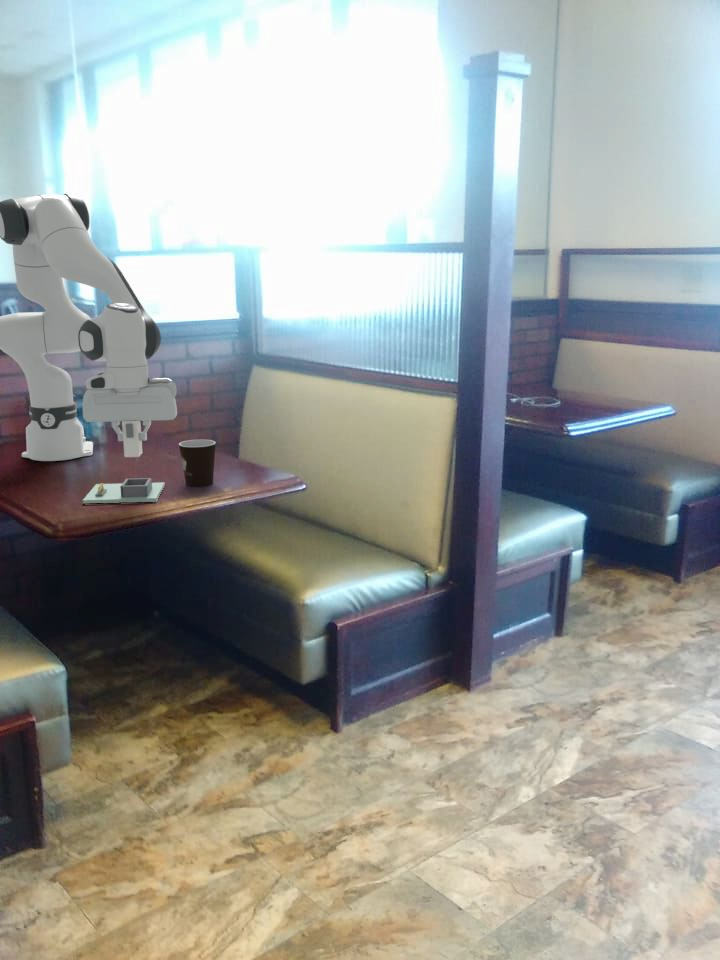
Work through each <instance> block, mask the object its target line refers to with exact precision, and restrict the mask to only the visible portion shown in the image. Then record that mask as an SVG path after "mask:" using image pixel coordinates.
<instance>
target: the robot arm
mask: <svg viewBox="0 0 720 960" xmlns="http://www.w3.org/2000/svg"><path fill="white" fill-rule="evenodd" d="M90 223H91V222H90V214H89V209H88V206H87V203H86V202H85V201H84V200H83V199H82V197H80V196H79V195H75V194H70V193H64V194H38V195H32V196H25V197H21V198H19V197H18V198H14V199H13V198H8V199H4V200H1V201H0V239H1V240H2V241H3V242H4V243H5V244H8V245H12V255H13V265H14V272H15V279H16V287H17V290H18V292H19V294H21V295H22V297H23V298H26V299H27V300H29V301H31V302H34V303H36V304H38V305H40V306H41V307H42V308H43V309H44V310H45V311H37V312H36V311H31V312H30V311H29V312H28V311H27V312H25V311H24V312H14V313H9V314H5V315H1V316H0V350H1V352H3V353H5V354H6V355H8V356H9V357H10V358H12V359H13V360H14V361H15V362H16V363H17V364H18V366H19V367H20V369H21V370H22V372H23V374H24V376H25V380H26V382H27V383H26V384H27V388H28V392H29V394H28V395H29V401H30V405H29V419H30V420H31V421H30V423H29V424H28V425H27V426H26V427H25V440H26V451H23V452H22V453H21V457H22V458H26V459H30V460H32V461H39V462H56V461H67V460H73V459H74V460H75V459H78V458H81V457H82V458H83V457H91V456H92V455H93V451H94V443H93V441H89V440H88V439H87V437H86V436H85V430H84V426H83V424H82V423H81V421H80V420H79V418H78V417H77V416H78V409H77V403H76V402H74V393H73V392H74V391H73V380H72V377H71V375H70V374H69V373H68V371H66V370H64V369H63V368H60V367H58V366H56V365H53V364H51V363H49V362H48V360H47V359H46V358H45V357H46V355H48V354H50V355H51V354H73V353H79V352H81V353H82V354H83V355H84V356H85V358H87V359H89V360H90V361H92V362H93V361H94V362H106V365H105V367H106V369H105V371H106V372H105V371H104V372H100V373H98V374H96V375H94V376H93V375H92V376H91V377H89V378H87V379H86V380H85V387H86V389H87V390H86V391H85V392H84V394H83V397H82V416H83V419H84V421H86V422H87V423H98V422H99V423H100V422H101V423H102V422H104V423H105V422H107V423H108V422H111V428H113V430H114V432H115V433H116V434H117V441H118V442H123V430H121V428H120V427H119V425H120V424H121V422H122V421H140V422H141V421H142V426H145V427H144V429H143V431H141V432H140V433H139V441H142V442H145V441H147V440H148V433H147V432H148V431H149V429H150V426H151V425H152V421H172V420H174V419H175V418H177V415H178V408H177V406H178V405H177V402H176V401H177V400H176V396H177V395H178V394H177V393H178V388H177V384H176V382H175V381H174V380H172V379H170V378H169V377H168V378H167V377H163V378H159V377H157V378H156V377H149V376H150V375H149V366H148V365H149V363H148V361H147V360H150V359H151V358H152V357H154V355H155V354H156V353H157V351H158V350H159V348H160V346H161V342H162V336H161V331H160V329H159V326H158V325H157V323H156V322H155V320H153V318H152V317H151V316H150V314H148V312H146V310H145V308H144V307H143V305H142V304H141V302H140V301H139V299H138V297H137V295H136V293H135V292H134V290H133V289H132V287H131V285H130V283H129V282H128V280H127V278H126V277H125V276H124V274H123V272H122V271H121V269H120V268H119V267H118V265H117V264H116V263H115V262H114V261H113V260H111V259H110V258H109V257H107V256H106V255H105V254H104V253H103V252H102V251H101V250H100V248H98V247H97V246H96V244H95V243H94V242H93V240H92V239H91V237H90V235H89V232H88V231H89V229H90ZM63 279H65V280H67V281H69V282H74V283H79V284H82V285H86V286H89V287H91V288H94V289H97V290H99V291H100V292H102V293H104V294H105V295H106V296H107V297H108V298H109V300H110V302H111V303H108V304H106V305H105V306H104V307H103V310H102V312H101V314H99V315H98V316H95V317H93V318H92V317H90V315H88V314H87V313H85V312H84V311H82V310H81V309H79V308H78V307H77V306H76V305H75V304H74V303H73V302H72V300H71V298H69V295H68V294H67V292H66V289H65V286H64V280H63Z"/></svg>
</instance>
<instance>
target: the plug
mask: <svg viewBox="0 0 720 960" xmlns="http://www.w3.org/2000/svg"><path fill="white" fill-rule="evenodd" d="M141 424H142V423H141V421H121V427H122V428H121V429H122V432H123V441H122V442H123V454H124V458H140V456H141V455H142V454H143V453H144V452H143V441H139V433H140V432H142V425H141Z"/></svg>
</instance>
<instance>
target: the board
mask: <svg viewBox="0 0 720 960" xmlns="http://www.w3.org/2000/svg"><path fill="white" fill-rule="evenodd" d="M152 480H153V479H152V477H148V478H147V477H146V478H145V477H144V478H143V477H140V478H125V479H124V481H123V482H121V483H102V482H101V483H96V484H95V485H94V486H93V487H92V489H91V490H90V491H89V492H88V493H87V494H86V496H85V497H84V498H83V499H82V504H83V503H112V502H113V503H119V502H153V503H154V502H156V503H157V502H158V500H159V499H158V498H160V497H159V496H161V495H160V494H162V493H163V491H164V489H165V487H166V482H163V481H162V482H153V481H152ZM164 486H165V487H164ZM163 488H164V489H163ZM162 490H163V491H162ZM161 492H162V493H161ZM153 503H152V504H153Z"/></svg>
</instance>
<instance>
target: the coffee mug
mask: <svg viewBox="0 0 720 960" xmlns="http://www.w3.org/2000/svg"><path fill="white" fill-rule="evenodd" d="M216 445H217V444H216V441H214V440H212V439H189V440H184V441H181V442H179V443H178V446H179V453H180V457H181V458H180V459H181V464H182V469H183V475H184V480H185V485H186V487H189V486H190V487H189V488H205V487H210V486H212V485H213V484H214V472H215V457H216Z"/></svg>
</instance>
